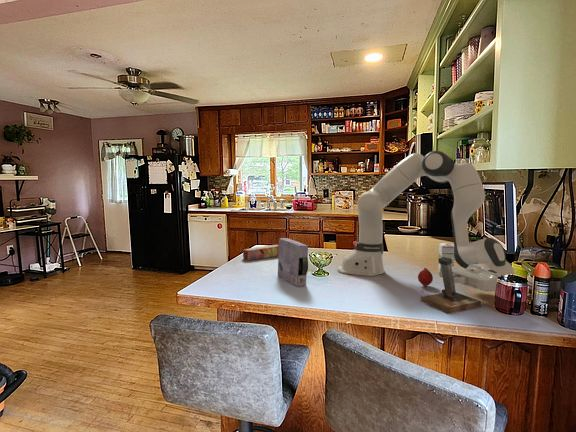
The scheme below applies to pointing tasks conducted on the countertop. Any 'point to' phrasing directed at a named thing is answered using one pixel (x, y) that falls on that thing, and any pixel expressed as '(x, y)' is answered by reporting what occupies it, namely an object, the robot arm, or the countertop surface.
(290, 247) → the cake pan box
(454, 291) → the lever
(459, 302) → the switch base
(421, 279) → the onion
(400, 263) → the countertop surface
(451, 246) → the white cylindrical container
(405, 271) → the countertop surface
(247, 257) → the snack package
